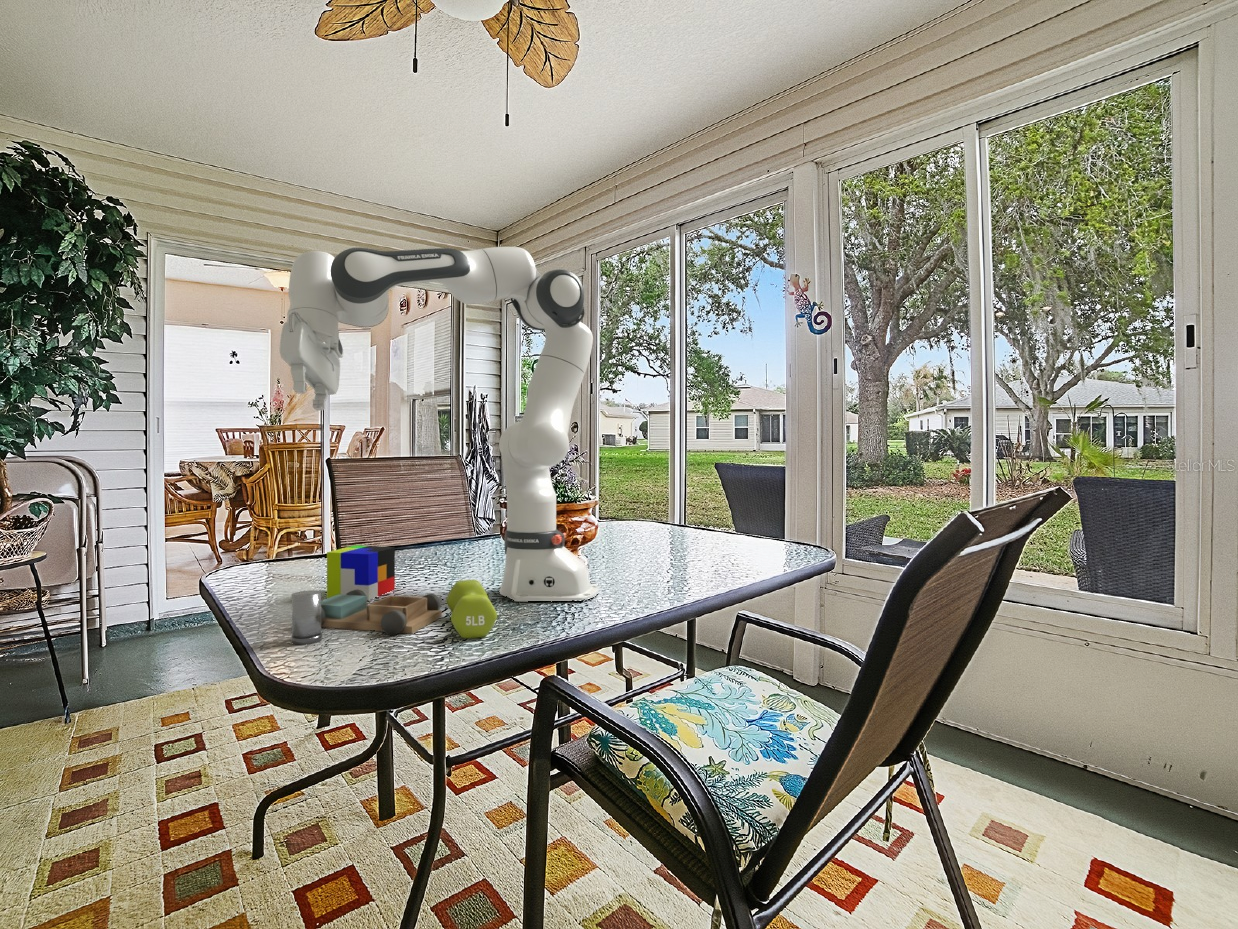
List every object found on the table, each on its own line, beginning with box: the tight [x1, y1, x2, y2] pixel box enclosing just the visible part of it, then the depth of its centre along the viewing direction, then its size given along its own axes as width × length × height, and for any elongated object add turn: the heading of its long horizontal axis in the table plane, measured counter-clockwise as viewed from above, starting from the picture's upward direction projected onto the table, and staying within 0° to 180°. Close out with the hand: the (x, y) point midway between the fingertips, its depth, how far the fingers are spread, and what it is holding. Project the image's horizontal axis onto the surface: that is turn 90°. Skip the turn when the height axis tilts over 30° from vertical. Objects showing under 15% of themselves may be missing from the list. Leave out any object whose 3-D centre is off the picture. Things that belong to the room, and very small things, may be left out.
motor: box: [290, 589, 323, 646], centre depth 104 cm, size 5×5×8 cm
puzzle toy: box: [326, 545, 396, 601], centre depth 137 cm, size 10×10×10 cm
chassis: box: [321, 589, 443, 636], centre depth 116 cm, size 22×14×4 cm, turn 79°
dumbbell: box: [445, 579, 498, 639], centre depth 113 cm, size 16×8×7 cm, turn 18°
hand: (309, 401), depth 115 cm, fingers open, 8 cm apart
